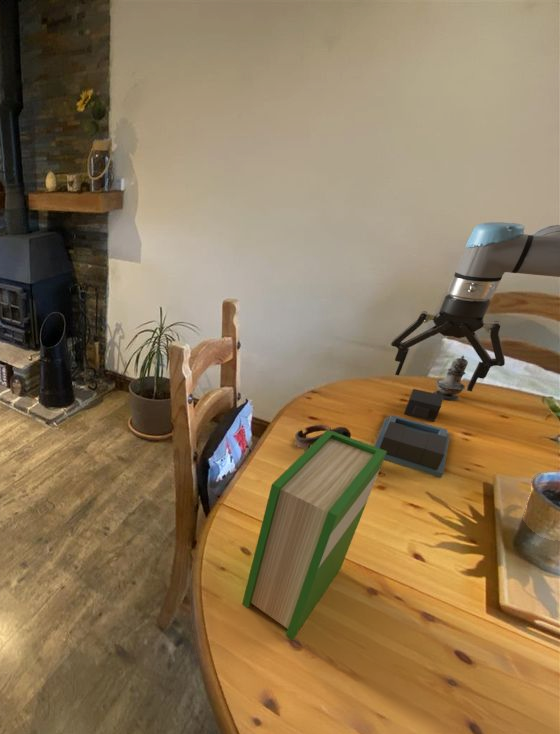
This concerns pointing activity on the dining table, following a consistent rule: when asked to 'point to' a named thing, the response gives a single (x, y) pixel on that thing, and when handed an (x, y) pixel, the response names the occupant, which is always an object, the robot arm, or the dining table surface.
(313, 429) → the dark brown curved piece
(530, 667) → the dining table surface
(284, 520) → the hardback book
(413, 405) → the black box
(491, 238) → the robot arm
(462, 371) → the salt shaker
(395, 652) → the dining table surface
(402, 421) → the board
